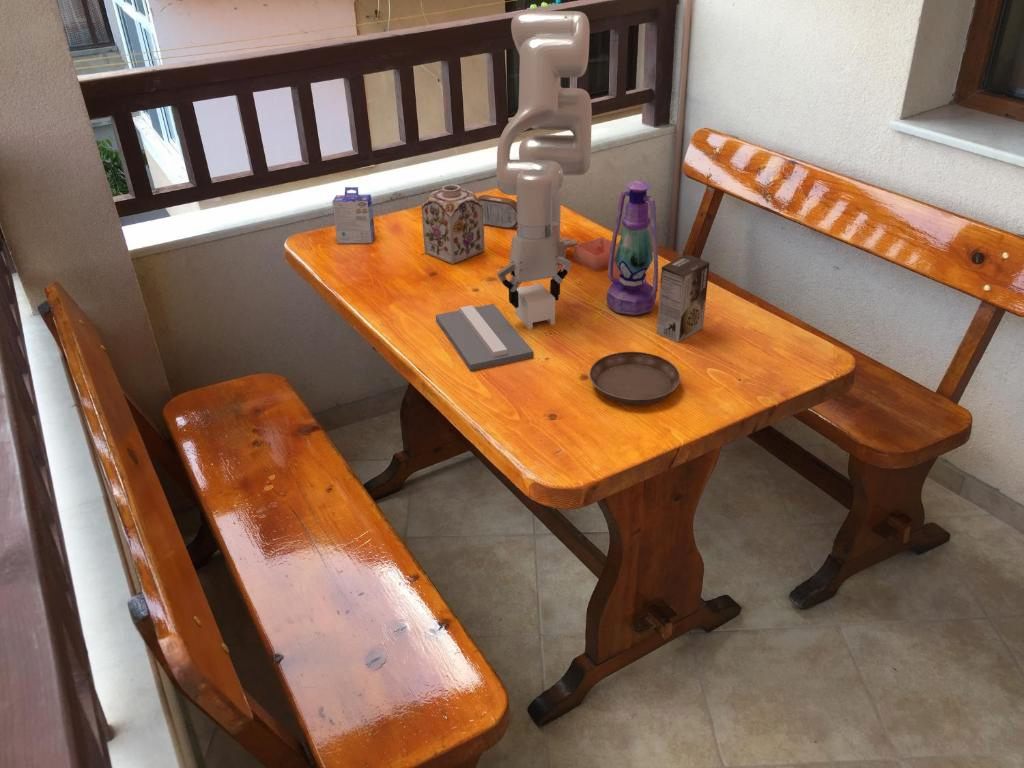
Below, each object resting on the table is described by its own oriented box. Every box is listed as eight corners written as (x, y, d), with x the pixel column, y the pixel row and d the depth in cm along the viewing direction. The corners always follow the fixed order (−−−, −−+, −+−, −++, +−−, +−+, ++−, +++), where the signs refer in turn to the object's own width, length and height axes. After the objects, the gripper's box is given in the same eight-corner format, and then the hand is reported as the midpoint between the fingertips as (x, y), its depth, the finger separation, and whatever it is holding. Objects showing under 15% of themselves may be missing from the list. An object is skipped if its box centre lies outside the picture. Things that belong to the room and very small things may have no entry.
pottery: (573, 260, 223) (574, 224, 218) (601, 251, 227) (603, 216, 222) (618, 284, 210) (620, 247, 205) (647, 274, 215) (650, 238, 210)
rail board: (493, 309, 200) (493, 299, 198) (533, 357, 181) (533, 346, 179) (435, 320, 195) (435, 310, 194) (470, 371, 176) (470, 359, 175)
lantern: (593, 306, 200) (597, 180, 184) (622, 289, 207) (629, 167, 191) (639, 323, 193) (648, 194, 177) (668, 305, 200) (680, 180, 184)
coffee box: (679, 319, 194) (686, 253, 185) (703, 328, 190) (711, 261, 182) (654, 333, 189) (660, 265, 180) (679, 343, 185) (685, 274, 176)
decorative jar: (486, 252, 228) (483, 186, 218) (453, 265, 221) (449, 198, 211) (455, 240, 235) (452, 176, 225) (423, 253, 228) (418, 187, 219)
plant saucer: (616, 420, 161) (617, 406, 159) (573, 375, 175) (574, 362, 173) (696, 399, 167) (698, 385, 165) (648, 356, 181) (650, 344, 179)
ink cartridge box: (376, 236, 239) (370, 185, 231) (373, 244, 234) (367, 192, 226) (340, 236, 239) (334, 185, 231) (337, 244, 234) (330, 193, 226)
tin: (523, 228, 242) (523, 199, 237) (519, 232, 240) (518, 203, 235) (475, 220, 247) (474, 192, 243) (470, 224, 245) (469, 196, 240)
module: (540, 309, 200) (540, 283, 196) (554, 324, 193) (555, 298, 190) (515, 314, 198) (514, 288, 194) (528, 329, 191) (528, 303, 188)
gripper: (564, 218, 189) (562, 289, 198) (490, 229, 184) (492, 301, 193) (578, 229, 183) (576, 301, 192) (503, 241, 178) (504, 315, 187)
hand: (534, 301), depth 192 cm, fingers open, 9 cm apart
